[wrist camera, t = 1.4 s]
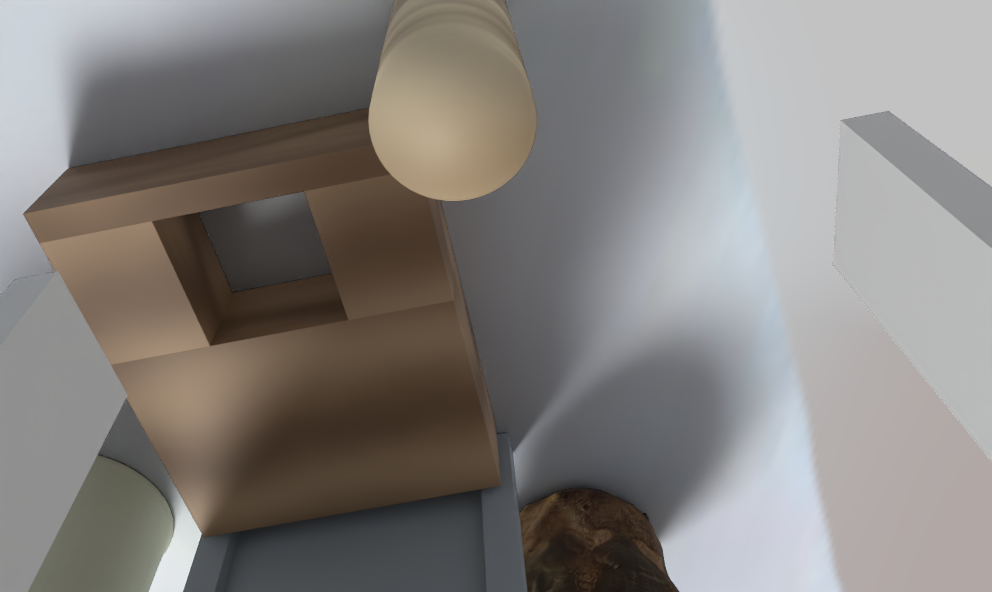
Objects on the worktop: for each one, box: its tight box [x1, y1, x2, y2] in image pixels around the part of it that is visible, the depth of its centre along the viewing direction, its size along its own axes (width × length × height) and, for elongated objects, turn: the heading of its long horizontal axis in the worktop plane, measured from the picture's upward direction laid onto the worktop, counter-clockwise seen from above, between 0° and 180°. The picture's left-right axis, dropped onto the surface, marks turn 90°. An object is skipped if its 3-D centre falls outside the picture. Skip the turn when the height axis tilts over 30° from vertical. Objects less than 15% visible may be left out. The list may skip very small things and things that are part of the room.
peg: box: [368, 0, 537, 201], centre depth 24 cm, size 4×4×12 cm
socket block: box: [23, 108, 501, 538], centre depth 34 cm, size 17×14×4 cm
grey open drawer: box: [183, 433, 527, 592], centre depth 32 cm, size 8×15×18 cm, turn 100°
